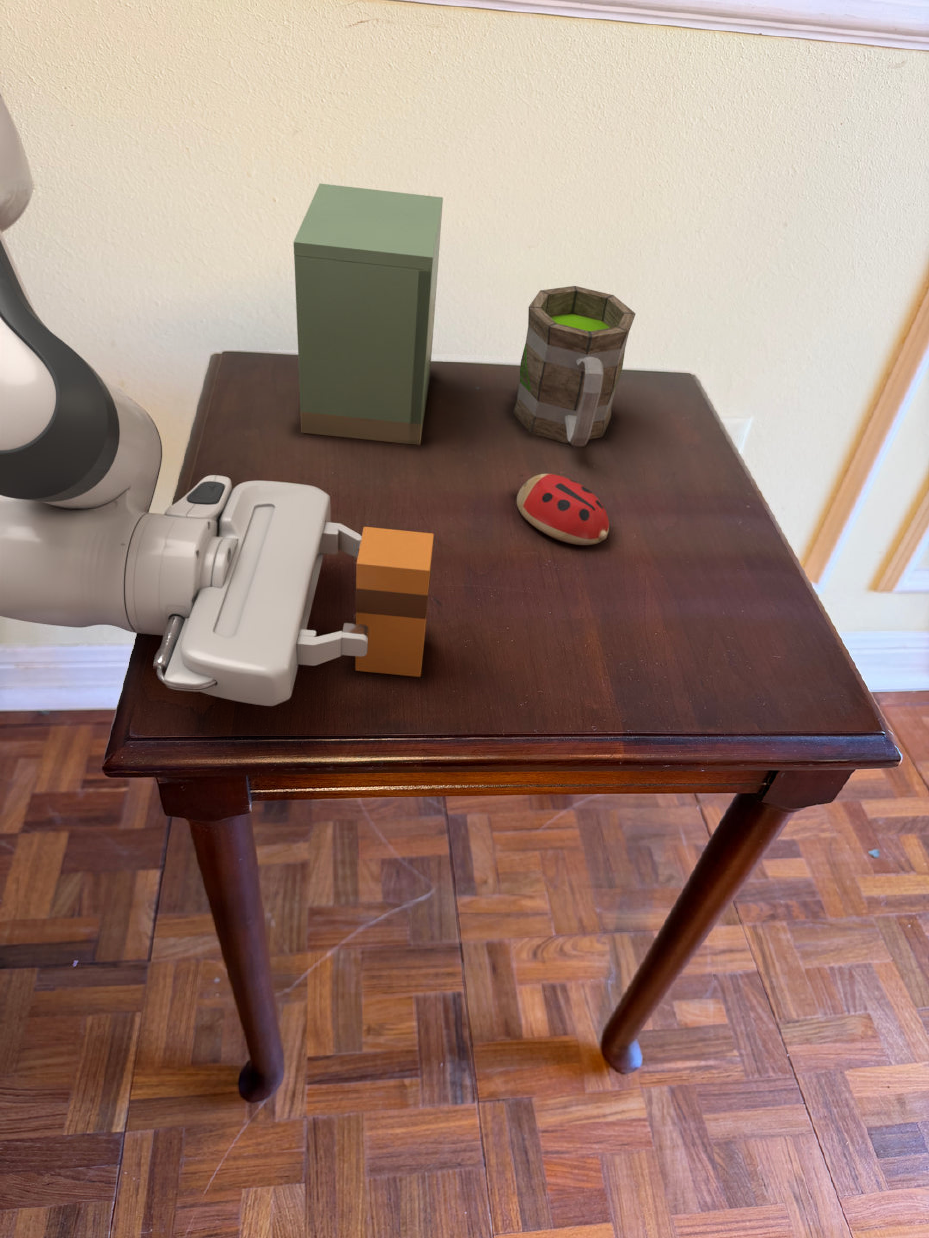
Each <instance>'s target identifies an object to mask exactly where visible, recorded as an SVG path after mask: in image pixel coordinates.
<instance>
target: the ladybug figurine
mask: <svg viewBox="0 0 929 1238" xmlns="http://www.w3.org/2000/svg"><path fill="white" fill-rule="evenodd" d="M516 505H517V506H516V507H517V508H518V511H519V513H520V515H521V516H522V517H523V518H524V519H525V521H527V522H528V523H529V524H530V525H531V526H533V527H534V528H536V529H537V530H539V531H540V532H542V533H543V534H544V535H546V536H548V537H551V538H553V539H555V540H558V541H560V542H563V543H567V544H571V545H575V546H591V545H592V546H593V545H596V544H599V543H601V542H603V541H604V540H606V539H607V537H608V534H609V531H610V521H609V517H608V513H607V510H606V509H605V506H604V505H603V503H602V502H601V501H600V500H599V498H598V497H597V496H596V495H595V494H594V493H593V492H592V491H591V490H589V489H588V488H587V487H585V486H583V485H582V484H580V483H578V482H577V481H575V480H573V479H570V478H567V477H565V476H561V475H558V474H553V473H540V474H537V475H534V476H532V477H531V478H529V479H528V480H527V481H526V482H525V483H524V484H523V485H522V487H520V489H519V490H518V493H517V496H516Z"/></svg>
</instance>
